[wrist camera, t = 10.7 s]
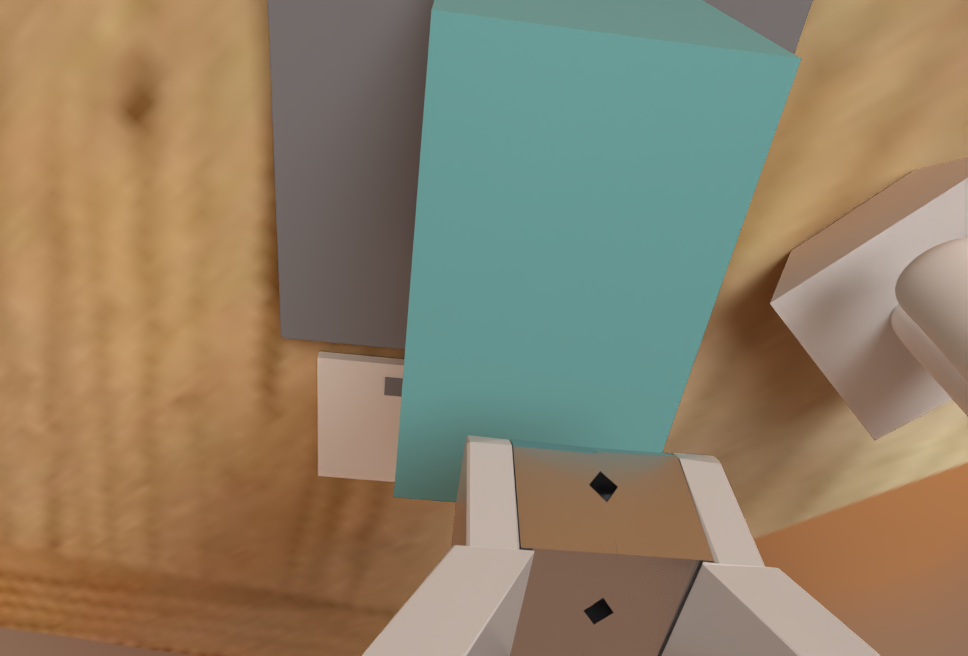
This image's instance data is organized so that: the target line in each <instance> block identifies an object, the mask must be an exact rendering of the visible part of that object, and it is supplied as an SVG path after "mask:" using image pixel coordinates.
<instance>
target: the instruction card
mask: <svg viewBox="0 0 968 656" xmlns="http://www.w3.org/2000/svg"><path fill="white" fill-rule="evenodd" d="M403 371H404V359H397V358H386V357H375V356H365V355H354V354H343V353H333V352H322V351H319V354H318V357H317V391H318V476H325V477H337V478H350V479H362V480H375V481H387V482H395V474H396V461H397V448H398V435H399V423H400V410H401V397H402V384H403Z"/></svg>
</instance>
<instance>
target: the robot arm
mask: <svg viewBox="0 0 968 656" xmlns="http://www.w3.org/2000/svg"><path fill="white" fill-rule="evenodd" d="M361 656H881V655H879V654H878V653H877V652H876V651H875V650H874V649H872V648H871V647H870V646H869V645H868V644H867V643H865V642H864V641H863V640H862V639H861V638H859V637H858V636H857V635H856V634H855V633H854V632H852V631H851V630H850V629H849V628H848V627H847V626H846V625H844V624H843V623H842V622H841V621H840V620H839V619H837V618H836V617H835V616H834V615H833V614H832V613H830V612H829V611H828V610H827V609H826V608H825V607H823V606H822V605H821V604H820V603H819V602H818V601H816V600H815V599H814V598H813V597H812V596H811V595H809V594H808V593H807V592H806V591H805V590H804V589H802V588H801V587H800V586H799V585H798V584H796V583H795V582H794V581H793V580H792V579H791V578H790V577H788V576H787V575H786V574H785V573H784V572H783V571H781V570H780V569H779V568H773V567H765V565H764V562H763V560H762V558H761V556H760V553H759V551H758V549H757V546H756V544H755V541H754V539H753V537H752V535H751V532H750V530H749V528H748V525H747V523H746V521H745V518H744V516H743V514H742V511H741V509H740V507H739V504H738V502H737V500H736V497H735V495H734V493H733V490H732V488H731V486H730V484H729V481H728V479H727V477H726V474H725V472H724V470H723V467H722V465H721V463H720V461H719V460H718V459H717V458H715V457H714V456H713V455H698V454H682V453H672V454H669V453H659V452H646V451H632V450H619V449H606V448H592V447H582V446H572V445H563V444H554V443H544V442H535V441H525V440H516V439H510V441H509V440H508V439H499V438H489V437H480V436H471V435H468V436H467V438H466V441H465V445H464V452H463V459H462V465H461V472H460V479H459V485H458V492H457V499H456V507H455V517H454V526H453V536H452V547H451V548H450V549H449V550H448V552H447V553H446V554H445V555H444V556H443V558H442V559H441V560H440V561H439V563H438V564H437V565H436V566H435V567H434V569H433V570H432V571H431V572H430V573H429V575H428V576H427V577H426V578H425V579H424V581H423V582H422V583H421V584H420V585H419V587H418V588H417V589H416V590H415V591H414V593H413V594H412V595H411V596H410V597H409V599H408V600H407V601H406V602H405V603H404V605H403V606H402V607H401V608H400V609H399V611H398V612H397V613H396V614H395V615H394V617H393V618H392V619H391V620H390V621H389V623H388V624H387V625H386V626H385V627H384V629H383V630H382V631H381V632H380V633H379V635H378V636H377V637H376V638H375V640H374V641H373V642H372V643H371V644H370V646H369V647H368V648H367V649H366V650H365V652H364V653H363V654H362V655H361Z"/></svg>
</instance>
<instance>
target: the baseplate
mask: <svg viewBox="0 0 968 656" xmlns="http://www.w3.org/2000/svg"><path fill="white" fill-rule="evenodd" d="M703 1H704V2H706V3H708V4H710V5H711V6H713V7H715V8H716V9H718V10H720V11H721V12H723V13H725V14H726V15H728V16H730V17H732V18H733V19H735V20H737V21H738V22H740V23H742V24H743V25H745V26H747V27H748V28H750V29H752V30H754V31H755V32H757V33H759V34H760V35H762V36H764V37H765V38H767V39H769V40H770V41H772V42H774V43H776V44H777V45H779V46H781V47H782V48H784V49H786V50H787V51H789V52H791V53H793V54H794V53H795V50H796V47H797V44H798V41H799V38H800V36H801V33H802V30H803V27H804V24H805V21H806V18H807V15H808V12H809V10H810V7H811V4H812V1H813V0H703ZM433 3H434V0H268V17H269V42H270V67H271V93H272V118H273V143H274V169H275V194H276V219H277V245H278V270H279V295H280V321H281V338H288V339H298V340H309V341H320V342H330V343H341V344H351V345H362V346H373V347H383V348H394V349H404V350H405V345H406V332H407V319H408V307H409V294H410V281H411V268H412V255H413V242H414V229H415V216H416V203H417V190H418V178H419V165H420V152H421V139H422V126H423V113H424V100H425V87H426V74H427V61H428V49H429V36H430V23H431V10H432V6H433Z"/></svg>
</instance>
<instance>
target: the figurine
mask: <svg viewBox="0 0 968 656" xmlns="http://www.w3.org/2000/svg"><path fill="white" fill-rule="evenodd" d="M770 305H771V306H772V307H773V308H774V310H775V311H776V312H777V314H778V315H779V316H780V318H781V319H782V320H783V322H784V323H785V324H786V325H787V327H788V328H789V329H790V331H791V332H792V333H793V335H794V336H795V337H796V339H797V340H798V341H799V342H800V344H801V345H802V346H803V348H804V349H805V350H806V352H807V353H808V354H809V355H810V357H811V358H812V359H813V361H814V362H815V363H816V365H817V366H818V367H819V369H820V370H821V371H822V372H823V374H824V375H825V376H826V378H827V379H828V380H829V382H830V383H831V384H832V386H833V387H834V388H835V389H836V391H837V392H838V393H839V395H840V396H841V397H842V399H843V400H844V401H845V403H846V404H847V405H848V406H849V408H850V409H851V410H852V412H853V413H854V414H855V416H856V417H857V418H858V420H859V421H860V422H861V423H862V425H863V426H864V427H865V429H866V430H867V431H868V433H869V434H870V435H871V437H872V438H873V439H874V440H877V439H878V438H880V437H882V436H884V435H886V434H888V433H890V432H892V431H894V430H896V429H897V428H899V427H901V426H903V425H905V424H907V423H909V422H911V421H913V420H914V419H916V418H918V417H920V416H922V415H924V414H926V413H928V412H930V411H932V410H933V409H935V408H937V407H939V406H941V405H943V404H945V403H947V402H949V401H950V400H952V399H953V400H954V402H955V403H956V404H957V405H958V406H959V407H960V408H961V409H962V410H963V412H964V413H965V414H966V415H967V416H968V157H967V158H962V159H958V160H954V161H950V162H946V163H941V164H937V165H933V166H929V167H924V168H920V169H916V170H914V171H912V172H910V173H909V174H907V175H906V176H904V177H903V178H901V179H900V180H898V181H897V182H895V183H894V184H892V185H891V186H889V187H888V188H886V189H885V190H883V191H882V192H880V193H878V194H877V195H875V196H874V197H872V198H871V199H869V200H868V201H866V202H865V203H863V204H862V205H860V206H859V207H857V208H856V209H854V210H853V211H851V212H850V213H848V214H846V215H845V216H843V217H842V218H840V219H839V220H837V221H836V222H834V223H833V224H831V225H830V226H828V227H827V228H825V229H824V230H822V231H821V232H819V233H818V234H816V235H815V236H813V237H811V238H810V239H808V240H807V241H805V242H804V243H802V244H801V245H799V246H798V247H796V248H795V249H793V250H792V251H791V252H790V255H789V257H788V260H787V262H786V265H785V267H784V270H783V272H782V275H781V277H780V279H779V282H778V284H777V287H776V289H775V292H774V294H773V297H772V299H771V302H770Z"/></svg>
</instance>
